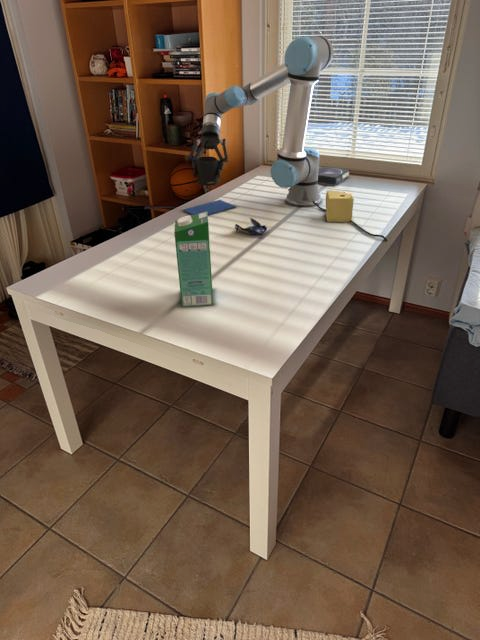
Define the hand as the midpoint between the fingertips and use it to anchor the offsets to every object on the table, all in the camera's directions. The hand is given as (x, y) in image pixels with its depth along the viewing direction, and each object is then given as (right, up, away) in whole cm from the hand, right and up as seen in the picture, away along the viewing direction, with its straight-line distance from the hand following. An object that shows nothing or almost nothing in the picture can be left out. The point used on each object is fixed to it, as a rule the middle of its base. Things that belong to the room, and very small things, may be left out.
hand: (206, 176), depth 196 cm
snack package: (+19, -27, -14) cm, 35 cm away
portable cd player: (+59, +12, +46) cm, 75 cm away
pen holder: (0, -2, +5) cm, 5 cm away
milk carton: (+1, -54, -57) cm, 79 cm away
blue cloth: (+1, -11, +10) cm, 15 cm away
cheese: (+54, -18, -3) cm, 57 cm away
